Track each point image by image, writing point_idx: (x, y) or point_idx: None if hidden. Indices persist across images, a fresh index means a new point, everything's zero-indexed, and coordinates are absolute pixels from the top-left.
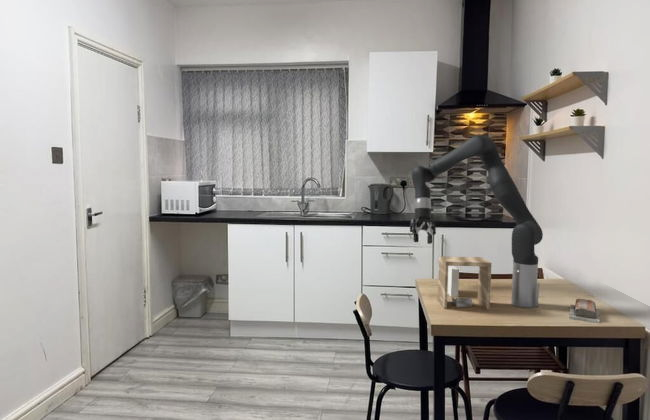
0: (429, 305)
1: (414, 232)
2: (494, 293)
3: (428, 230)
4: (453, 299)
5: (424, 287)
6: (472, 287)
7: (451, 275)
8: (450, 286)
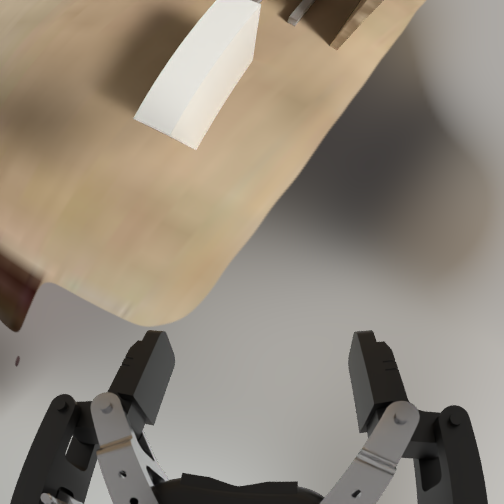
0: (390, 37)
1: (428, 412)
2: (79, 55)
3: (147, 463)
4: (309, 4)
5: (247, 218)
6: (74, 145)
7: (255, 25)
8: (246, 56)
